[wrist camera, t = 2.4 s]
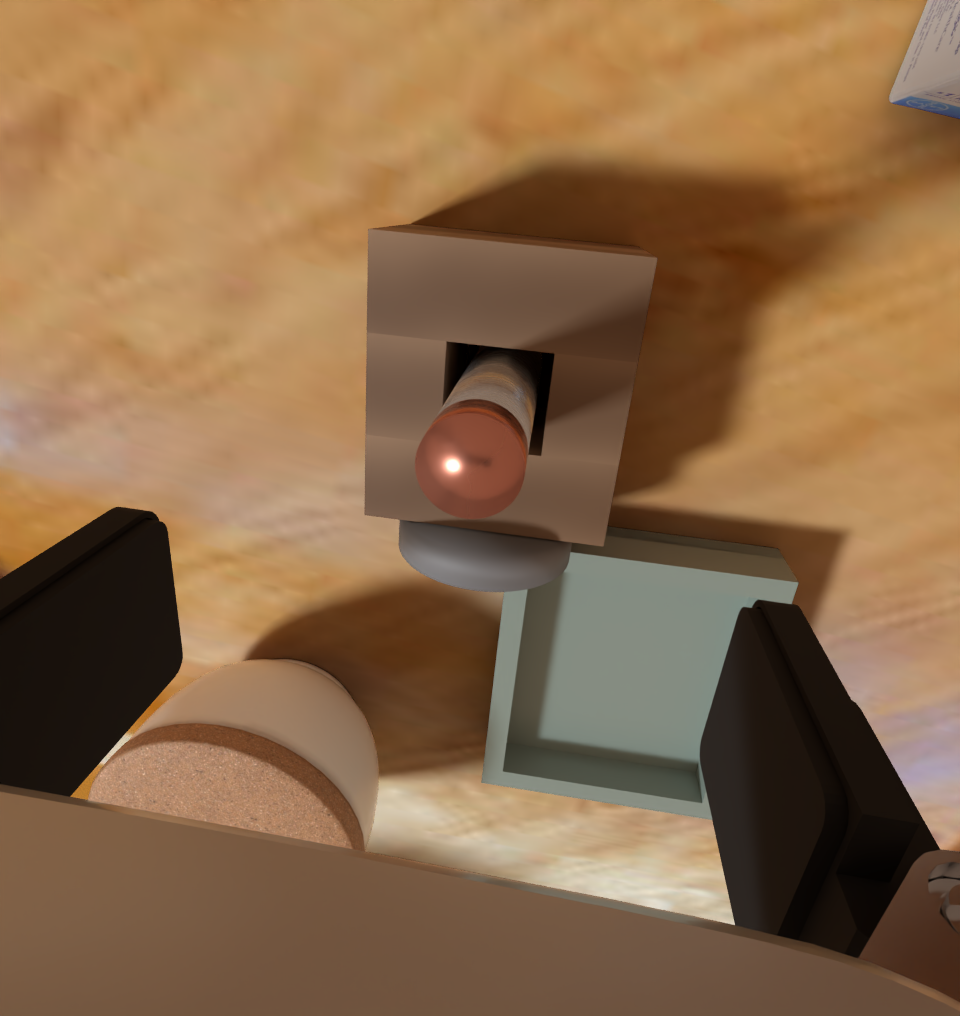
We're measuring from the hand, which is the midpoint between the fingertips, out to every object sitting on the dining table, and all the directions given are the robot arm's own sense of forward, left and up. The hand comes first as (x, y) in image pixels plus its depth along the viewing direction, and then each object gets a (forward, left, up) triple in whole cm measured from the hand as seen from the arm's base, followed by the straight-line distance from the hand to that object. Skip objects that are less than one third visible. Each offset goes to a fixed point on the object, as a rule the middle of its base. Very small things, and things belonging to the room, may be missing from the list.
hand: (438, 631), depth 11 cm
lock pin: (0, 0, -19) cm, 19 cm away
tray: (+14, +7, -19) cm, 24 cm away
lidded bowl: (+21, -10, -19) cm, 30 cm away
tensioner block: (+1, 0, -19) cm, 19 cm away
